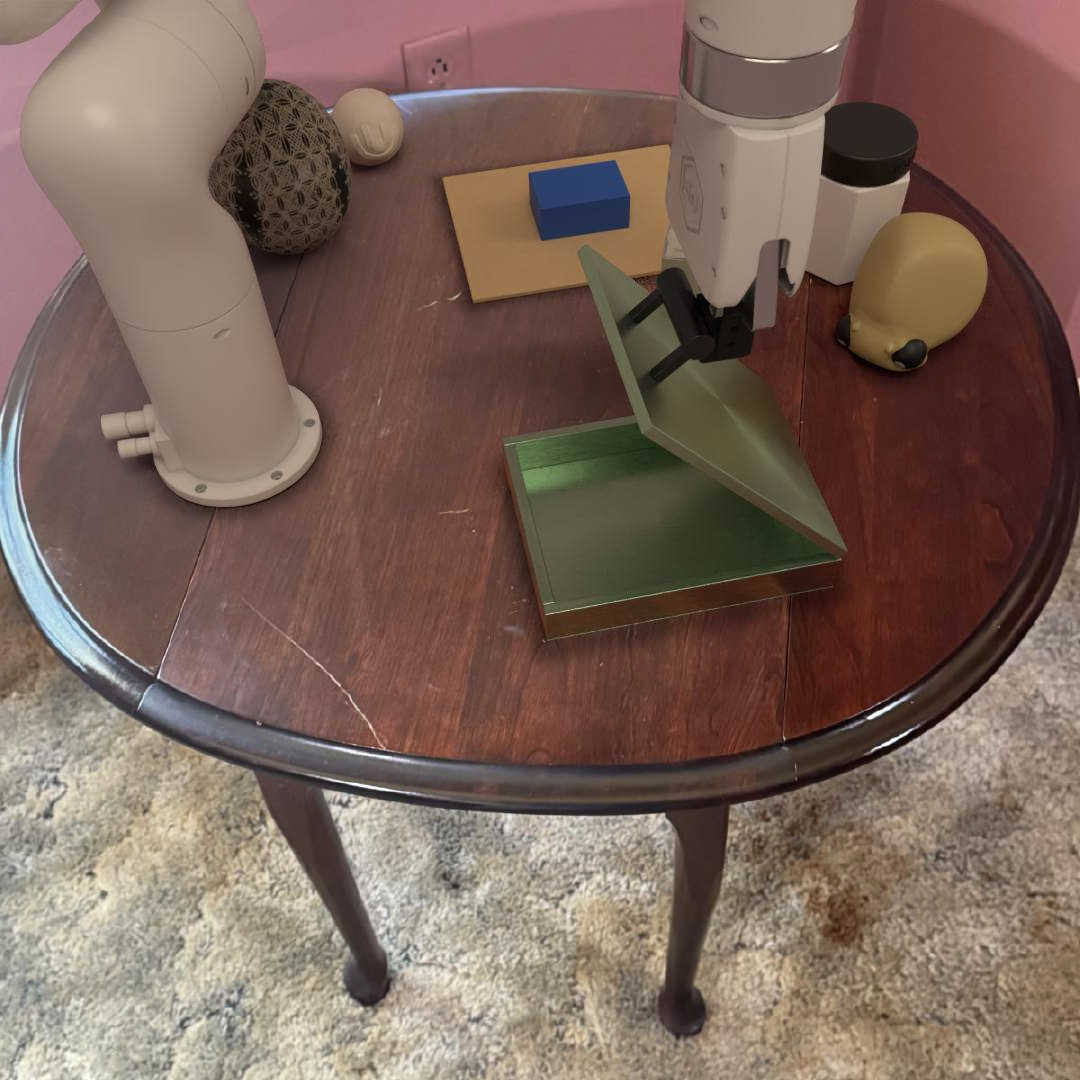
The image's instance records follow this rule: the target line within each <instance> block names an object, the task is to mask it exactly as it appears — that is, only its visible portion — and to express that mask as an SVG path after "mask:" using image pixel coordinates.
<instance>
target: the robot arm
mask: <svg viewBox="0 0 1080 1080" xmlns="http://www.w3.org/2000/svg"><path fill="white" fill-rule="evenodd" d="M82 1H83V0H0V46H14V45H20V44H23V43H27V42H29V41H31V40H33V39H36V38H38V37H39V36H41V35H43V34H44V33H45V32H47V31H48V30H50V29H51V28H53V27H54V26H56V25H57V24H58V23H59V22H61V21H62V20H63V19H64V18H66V16H67V15H68V14H69V13H71V12H72V11H73V10H74V9H75V8H76V7H77V6H78V4H80V3H81V2H82ZM93 2H94V3H95V4H96V6H97V7H98V9H99V10H100V11H99V12H98V13H97V14H96V16H95V17H94V18H93V19H92V20H91V21H90V22H88V23H87V24H86V25H85V26H84V27H83V28H81V30H79V32H78V33H77V34H76V35H75V36H74V37H73V38H72V39H71V40H70V41H69V42H68V43H67V45H65V46H64V48H63V49H61V51H60V52H59V53H58V54H57V55H56V56H55V57H54V58H53V60H52V61H51V62H50V63H49V64H48V65H47V67H46V68H45V69H44V70H43V72H42V73H41V74H40V76H39V77H38V78H37V80H36V82H35V84H34V85H33V86H32V88H31V89H30V91H29V93H28V96H27V98H26V100H25V103H24V105H23V109H22V112H21V115H20V116H21V117H20V123H19V141H20V148H21V153H22V156H23V159H24V161H25V164H26V167H27V169H28V170H29V172H30V174H31V175H32V177H33V179H34V181H35V182H36V184H37V185H38V186H39V188H40V190H41V191H42V193H43V194H44V195H45V197H46V198H47V200H49V202H50V203H51V205H52V206H53V208H54V209H55V210H56V212H57V213H58V214H59V215H60V217H61V218H62V220H63V222H64V223H65V224H66V226H67V227H68V229H69V230H70V232H71V233H72V235H73V237H74V238H75V240H76V242H77V243H78V245H79V247H80V249H81V250H82V252H83V254H84V256H85V258H86V260H87V262H88V264H89V266H90V267H91V270H92V272H93V274H94V276H95V278H96V281H97V283H98V285H99V287H100V289H101V291H102V295H103V296H104V299H105V301H106V303H107V305H108V308H109V309H110V311H111V313H112V315H113V318H114V321H115V323H116V324H117V326H118V329H119V332H120V334H121V336H122V339H123V340H124V343H125V345H126V348H127V350H128V352H129V354H130V357H131V359H132V362H133V364H134V366H135V368H136V370H137V372H138V375H139V377H140V380H141V382H142V384H143V387H144V388H145V391H146V393H147V396H148V398H149V400H150V402H151V403H146V404H144V405H143V408H142V410H135V411H119V412H114V413H107V414H102V415H100V426H101V431H102V434H103V437H104V438H105V440H106V441H115V440H117V444H116V445H117V452H118V455H119V458H120V459H122V460H124V459H130V458H136V457H140V456H141V455H148V454H152V456H153V457H152V458H153V462H154V465H155V468H156V471H157V473H158V475H159V477H160V479H161V480H162V481H163V483H164V484H165V486H166V487H167V488H168V489H169V490H171V491H172V492H173V493H174V494H175V495H177V496H178V497H180V498H182V499H183V500H186V501H187V502H191V503H194V504H197V505H200V506H207V507H214V508H233V507H235V508H236V507H241V506H247V505H252V504H255V503H257V502H261V501H264V500H268V499H269V498H271V497H274V496H276V495H278V494H280V493H282V492H284V491H285V490H286V489H287V488H290V487H291V486H292V485H293V484H295V483H296V482H297V481H299V480H300V479H301V478H302V477H303V476H304V475H305V474H306V473H307V472H308V471H309V469H310V468H311V467H312V465H313V464H314V463H315V461H316V459H317V457H318V454H319V452H320V450H321V446H322V441H323V426H322V422H321V419H320V415H319V412H318V410H317V408H316V405H315V403H314V402H313V401H312V400H311V398H309V396H308V395H306V393H304V392H302V390H300V389H299V388H297V387H295V386H293V385H291V384H289V382H288V379H287V375H286V372H285V369H284V365H283V362H282V359H281V354H280V352H279V349H278V344H277V342H276V339H275V335H274V331H273V327H272V324H271V322H270V318H269V315H268V311H267V307H266V304H265V301H264V297H263V294H262V291H261V287H260V284H259V280H258V277H257V273H256V270H255V266H254V263H253V260H252V258H251V254H250V251H249V247H248V244H247V241H246V240H245V239H244V236H243V234H242V232H241V230H240V228H239V226H238V224H237V223H236V221H235V220H234V218H233V217H232V216H231V215H230V214H229V213H228V212H227V211H226V210H225V209H224V208H223V207H221V206H220V205H219V204H218V203H217V201H216V199H214V197H213V195H212V193H211V190H210V187H209V175H210V173H209V170H210V168H211V166H212V164H213V162H214V160H215V159H216V157H217V156H218V154H219V153H220V152H221V150H222V149H223V147H224V145H225V143H226V141H227V139H228V138H229V136H230V135H231V134H232V132H233V131H234V129H235V128H236V127H237V125H238V124H239V122H240V121H241V120H242V118H243V117H244V115H245V114H246V113H247V111H248V110H249V108H250V107H251V105H252V104H253V102H254V101H255V99H256V97H257V95H258V93H259V91H260V89H261V87H262V84H263V81H264V79H265V76H266V70H267V69H266V68H267V54H266V53H267V52H266V48H265V47H266V46H265V42H264V38H263V35H262V32H261V28H260V25H259V24H258V21H257V18H256V17H255V14H254V12H253V10H252V8H251V7H250V6H251V5H250V4H249V2H248V1H247V0H93ZM857 2H858V0H684V6H683V7H684V8H683V20H682V21H683V22H682V33H681V47H680V59H679V70H678V71H679V72H678V81H677V82H678V83H677V85H678V91H679V93H678V98H677V102H676V110H675V115H674V117H675V118H674V122H673V131H672V137H671V146H670V149H671V153H670V161H669V169H668V177H667V186H666V198H665V202H666V209H667V213H668V217H669V220H670V222H671V225H672V227H673V230H674V232H675V235H676V237H677V239H678V242H679V244H680V246H681V248H682V251H683V253H684V255H685V258H686V260H687V262H688V264H689V266H690V269H691V271H692V273H693V275H694V277H695V279H696V282H697V284H698V288H699V290H700V291H701V292H702V293H700V294H697V296H696V299H697V301H698V303H699V306H700V308H701V310H702V313H703V315H704V317H705V319H706V322H707V324H708V326H709V328H710V331H711V333H712V335H713V338H714V340H715V348H714V350H713V352H712V353H711V354H710V355H708V356H707V357H705V358H703V359H700V360H699V362H700V363H710V362H716V361H722V360H729V359H741V358H746V357H748V356H749V355H750V354H751V353H752V349H753V344H754V338H755V333H756V332H760V331H766V330H772V329H775V327H776V321H777V306H778V292H779V291H778V290H779V289H780V291H781V292H782V293H783V294H784V296H785V297H787V298H792V297H793V296H794V295H795V294H796V293H797V291H799V288H800V287H801V284H802V281H803V279H804V274H805V272H806V271H805V268H806V264H807V260H808V255H809V250H810V245H811V239H812V234H813V228H814V221H815V215H816V208H817V200H818V193H819V184H820V176H821V166H822V155H823V143H824V129H825V116H824V114H825V113H826V112H827V111H828V110H830V108H831V107H833V106H835V105H836V101H837V99H838V97H839V93H840V88H841V83H842V78H843V74H844V68H845V65H846V64H845V63H846V58H847V53H848V48H849V44H850V39H851V34H852V30H853V24H854V19H855V15H856V9H857ZM147 433H148V435H149V436H144V437H133V436H136V435H140V434H141V435H142V434H147ZM132 437H133V438H132ZM125 438H126V439H125ZM120 439H121V440H120Z"/></svg>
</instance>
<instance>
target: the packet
mask: <svg viewBox="0 0 1080 1080" xmlns="http://www.w3.org/2000/svg"><path fill="white" fill-rule="evenodd" d="M528 177H529V198H530V207H531V210H532V213H533V216H534V219H535V222H536V225H537V228H538V231H539V234H540V238H541V240H542V241H545V240H551V239H558V238H564V237H571V236H577V235H584V234H591V233H597V232H604V231H610V230H617V229H623V228H629V222H630V193H629V191H628V188H627V186H626V184H625V181H624V179H623V177H622V174H621V172H620V169H619V167H618V165H617V162H616V160H611V161H604V162H597V163H590V164H584V165H577V166H570V167H563V168H556V169H549V170H543V171H536V172H529V173H528Z"/></svg>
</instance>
